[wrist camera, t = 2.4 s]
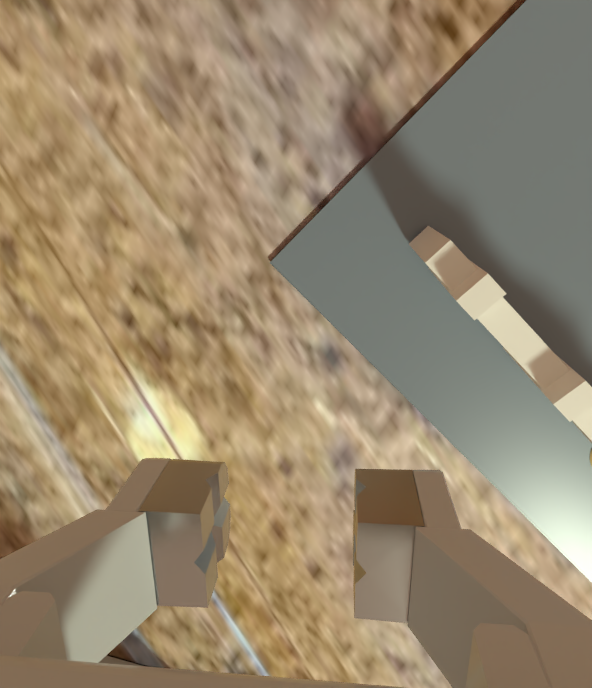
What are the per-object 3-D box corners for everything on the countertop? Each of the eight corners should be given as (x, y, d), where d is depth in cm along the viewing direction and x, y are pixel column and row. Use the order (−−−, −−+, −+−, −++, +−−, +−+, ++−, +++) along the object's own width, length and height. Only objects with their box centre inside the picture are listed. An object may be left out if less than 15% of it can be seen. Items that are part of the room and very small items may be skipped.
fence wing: (625, 437, 26) (712, 519, 20) (601, 453, 26) (679, 538, 20) (429, 224, 23) (459, 242, 17) (406, 245, 24) (427, 270, 18)
